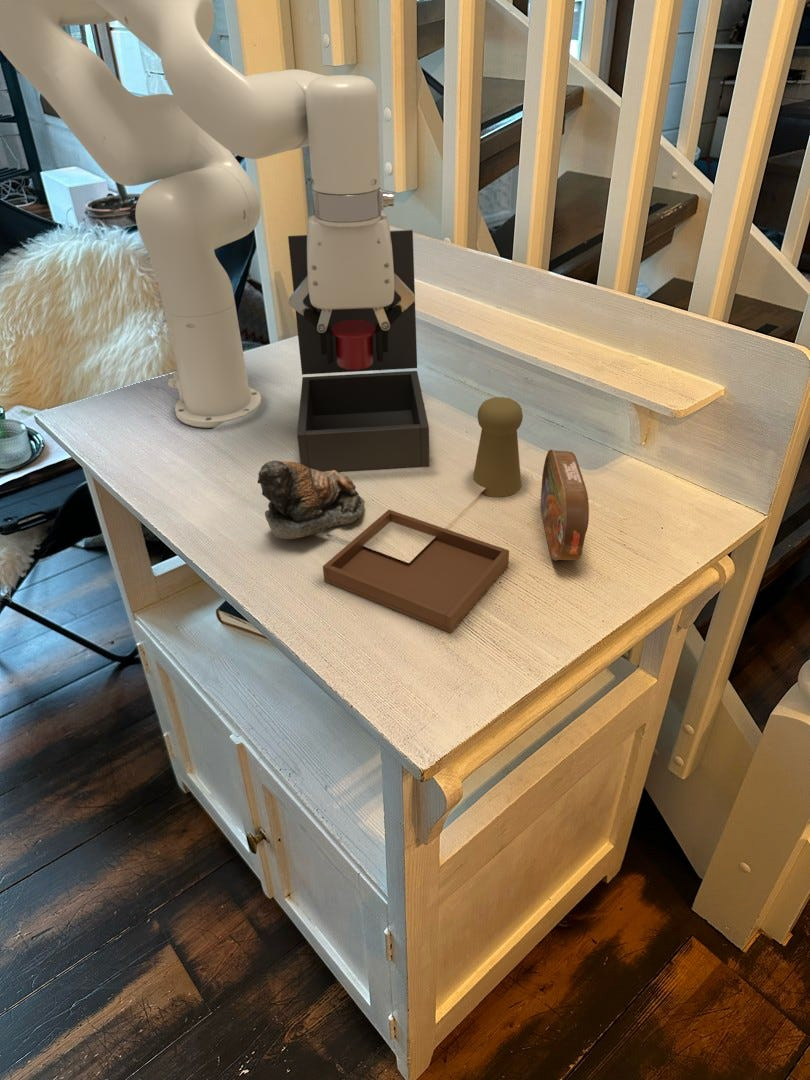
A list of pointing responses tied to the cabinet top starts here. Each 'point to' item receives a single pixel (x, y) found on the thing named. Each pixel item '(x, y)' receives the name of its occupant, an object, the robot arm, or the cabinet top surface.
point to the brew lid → (359, 314)
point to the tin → (564, 505)
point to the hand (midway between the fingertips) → (355, 356)
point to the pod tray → (420, 572)
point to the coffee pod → (354, 343)
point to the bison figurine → (307, 499)
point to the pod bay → (363, 422)
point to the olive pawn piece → (498, 447)
